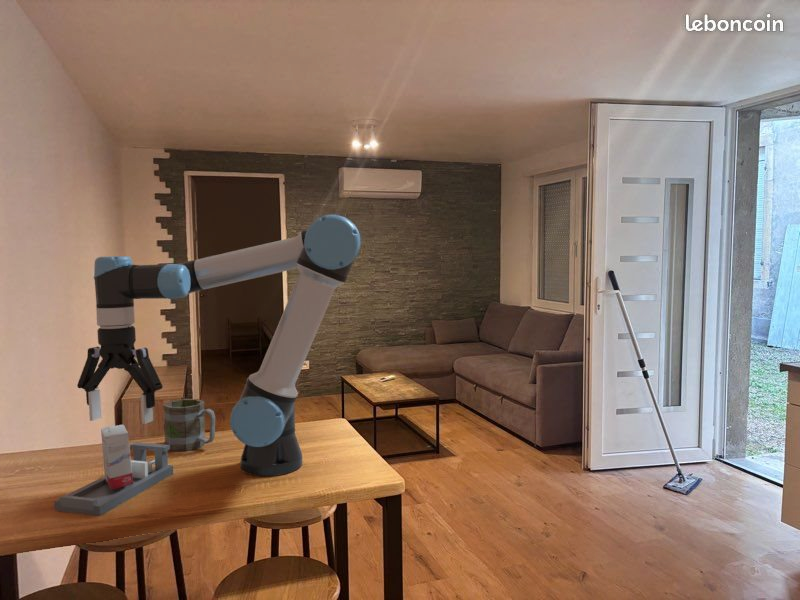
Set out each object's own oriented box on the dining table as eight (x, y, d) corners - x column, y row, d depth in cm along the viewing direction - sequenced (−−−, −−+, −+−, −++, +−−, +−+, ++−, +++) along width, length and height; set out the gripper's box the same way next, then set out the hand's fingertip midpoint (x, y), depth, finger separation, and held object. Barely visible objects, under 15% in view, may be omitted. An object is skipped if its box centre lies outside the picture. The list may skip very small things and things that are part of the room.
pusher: (177, 461, 146) (176, 446, 145) (145, 478, 134) (144, 463, 134) (153, 459, 147) (153, 444, 147) (119, 476, 136) (119, 460, 136)
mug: (155, 449, 159) (154, 405, 158) (184, 438, 169) (183, 397, 168) (200, 456, 153) (199, 411, 152) (228, 444, 163) (227, 402, 162)
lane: (173, 473, 141) (172, 445, 140) (99, 516, 118) (98, 482, 117) (134, 469, 144) (133, 441, 143) (54, 510, 120) (53, 477, 120)
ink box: (133, 485, 128) (130, 433, 127) (108, 491, 126) (104, 437, 124) (127, 472, 136) (124, 423, 134) (103, 477, 133) (100, 427, 132)
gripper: (176, 324, 130) (180, 418, 131) (82, 323, 136) (87, 413, 137) (154, 329, 122) (159, 428, 124) (55, 327, 128) (61, 422, 130)
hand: (121, 420), depth 131 cm, fingers open, 13 cm apart
